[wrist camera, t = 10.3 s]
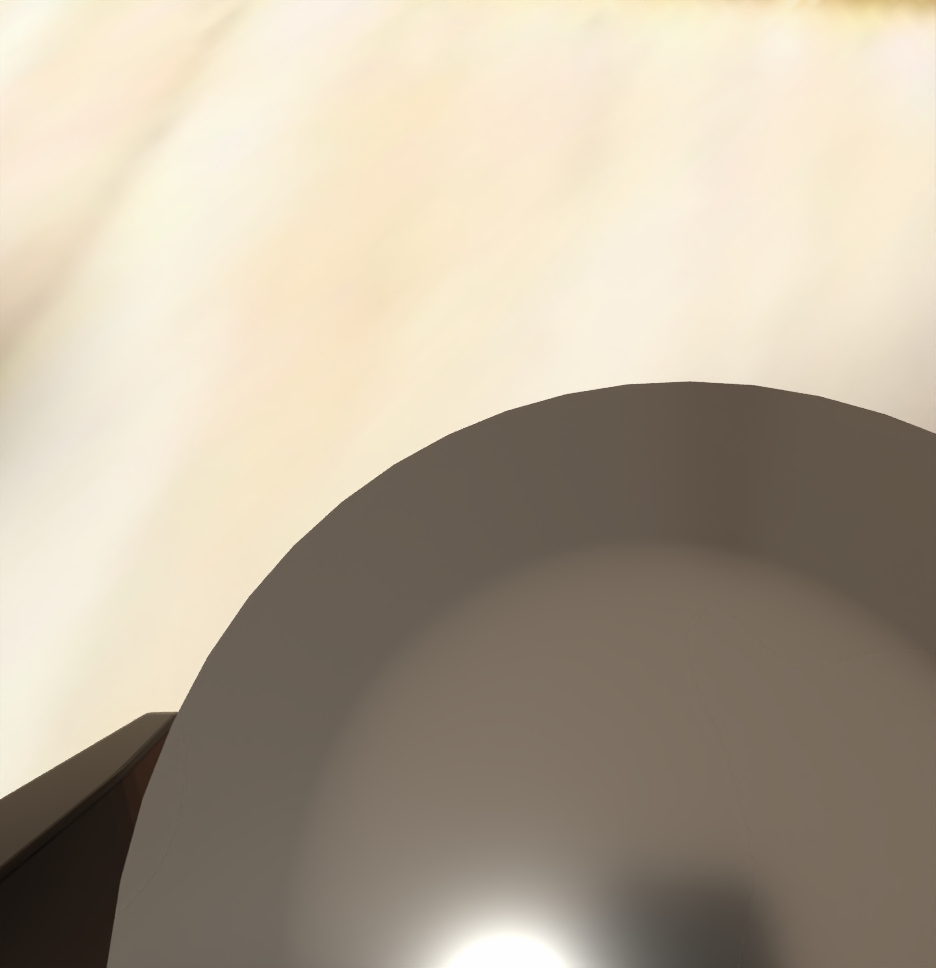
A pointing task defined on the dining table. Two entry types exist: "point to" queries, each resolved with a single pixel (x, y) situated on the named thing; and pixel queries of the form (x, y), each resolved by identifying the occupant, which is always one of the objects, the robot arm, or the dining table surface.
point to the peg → (573, 707)
